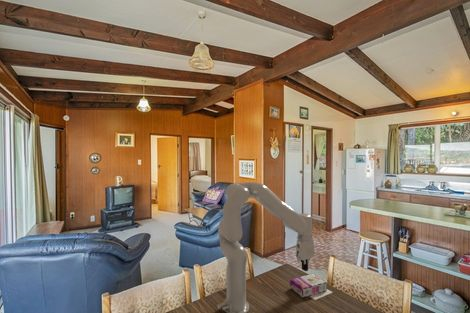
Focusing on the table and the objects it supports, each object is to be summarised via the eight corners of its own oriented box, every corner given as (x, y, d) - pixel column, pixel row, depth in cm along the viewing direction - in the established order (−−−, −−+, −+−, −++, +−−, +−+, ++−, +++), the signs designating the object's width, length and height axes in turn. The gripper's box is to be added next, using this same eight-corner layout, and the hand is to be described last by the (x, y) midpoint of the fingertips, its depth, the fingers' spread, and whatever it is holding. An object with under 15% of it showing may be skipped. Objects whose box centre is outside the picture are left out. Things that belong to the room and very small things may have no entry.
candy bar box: (302, 298, 129) (327, 291, 135) (302, 289, 128) (327, 282, 135) (289, 287, 139) (313, 281, 145) (289, 278, 139) (313, 272, 145)
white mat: (315, 300, 127) (315, 299, 127) (289, 283, 144) (289, 282, 144) (332, 292, 134) (332, 292, 134) (306, 277, 150) (306, 276, 150)
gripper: (299, 241, 129) (299, 276, 130) (319, 236, 137) (319, 269, 137) (289, 237, 136) (289, 270, 136) (309, 232, 143) (309, 264, 144)
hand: (304, 270), depth 137 cm, fingers closed
